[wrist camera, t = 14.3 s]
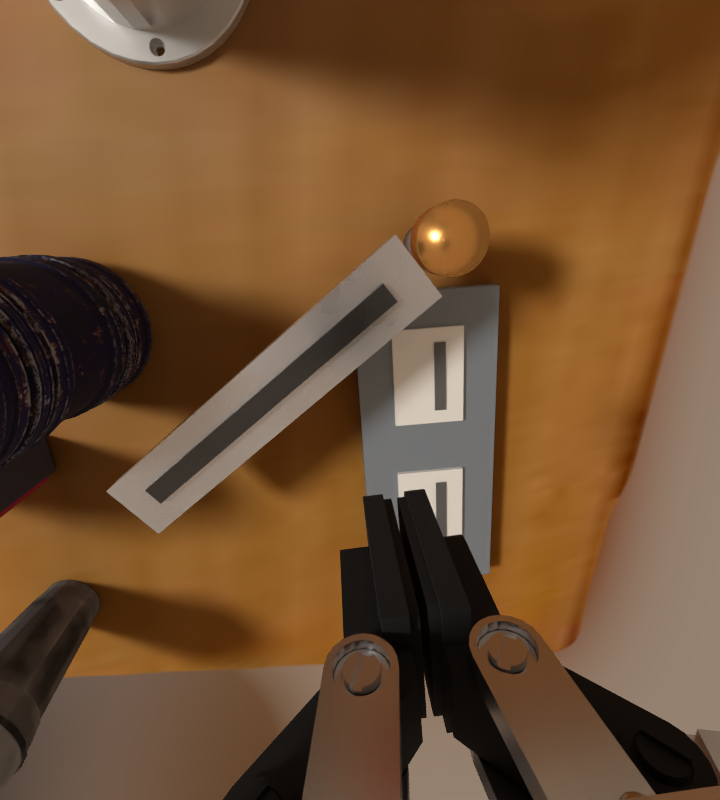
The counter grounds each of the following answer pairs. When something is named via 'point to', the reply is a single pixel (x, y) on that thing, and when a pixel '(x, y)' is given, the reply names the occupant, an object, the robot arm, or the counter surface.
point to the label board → (437, 412)
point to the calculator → (24, 475)
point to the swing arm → (304, 363)
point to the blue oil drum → (63, 344)
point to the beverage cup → (38, 663)
